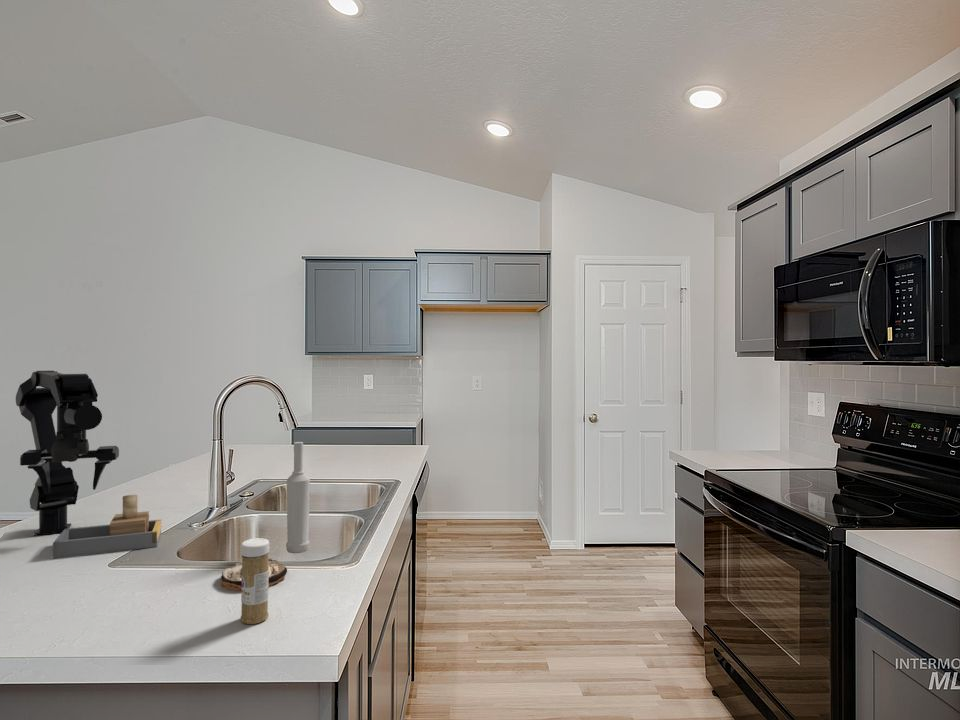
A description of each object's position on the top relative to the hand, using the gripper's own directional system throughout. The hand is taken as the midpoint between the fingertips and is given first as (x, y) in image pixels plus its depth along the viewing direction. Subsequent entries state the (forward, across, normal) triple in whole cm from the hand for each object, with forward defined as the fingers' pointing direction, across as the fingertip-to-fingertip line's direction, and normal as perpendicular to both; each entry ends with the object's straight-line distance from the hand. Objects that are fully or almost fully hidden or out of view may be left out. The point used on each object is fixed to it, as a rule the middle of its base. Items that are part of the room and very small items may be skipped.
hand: (71, 491), depth 139 cm
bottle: (+12, +49, -27) cm, 57 cm away
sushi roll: (+13, +39, -41) cm, 58 cm away
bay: (+12, +9, -7) cm, 17 cm away
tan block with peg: (+11, +13, -7) cm, 18 cm away
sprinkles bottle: (+12, +38, -60) cm, 72 cm away
